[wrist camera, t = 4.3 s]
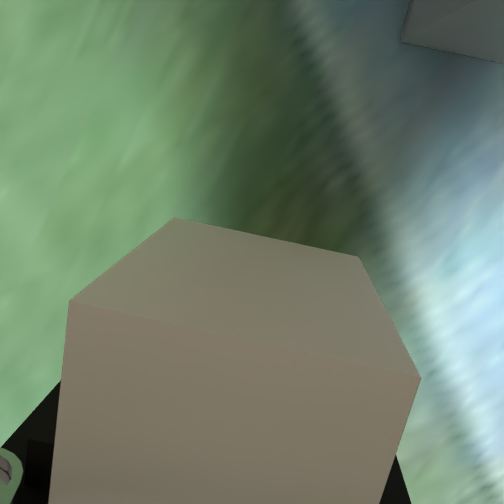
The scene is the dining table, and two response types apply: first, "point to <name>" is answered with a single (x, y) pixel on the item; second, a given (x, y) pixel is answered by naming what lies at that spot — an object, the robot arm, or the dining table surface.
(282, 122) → the dining table surface
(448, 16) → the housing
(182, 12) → the dining table surface
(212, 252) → the white block with knob
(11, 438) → the robot arm
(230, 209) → the dining table surface
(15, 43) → the dining table surface
